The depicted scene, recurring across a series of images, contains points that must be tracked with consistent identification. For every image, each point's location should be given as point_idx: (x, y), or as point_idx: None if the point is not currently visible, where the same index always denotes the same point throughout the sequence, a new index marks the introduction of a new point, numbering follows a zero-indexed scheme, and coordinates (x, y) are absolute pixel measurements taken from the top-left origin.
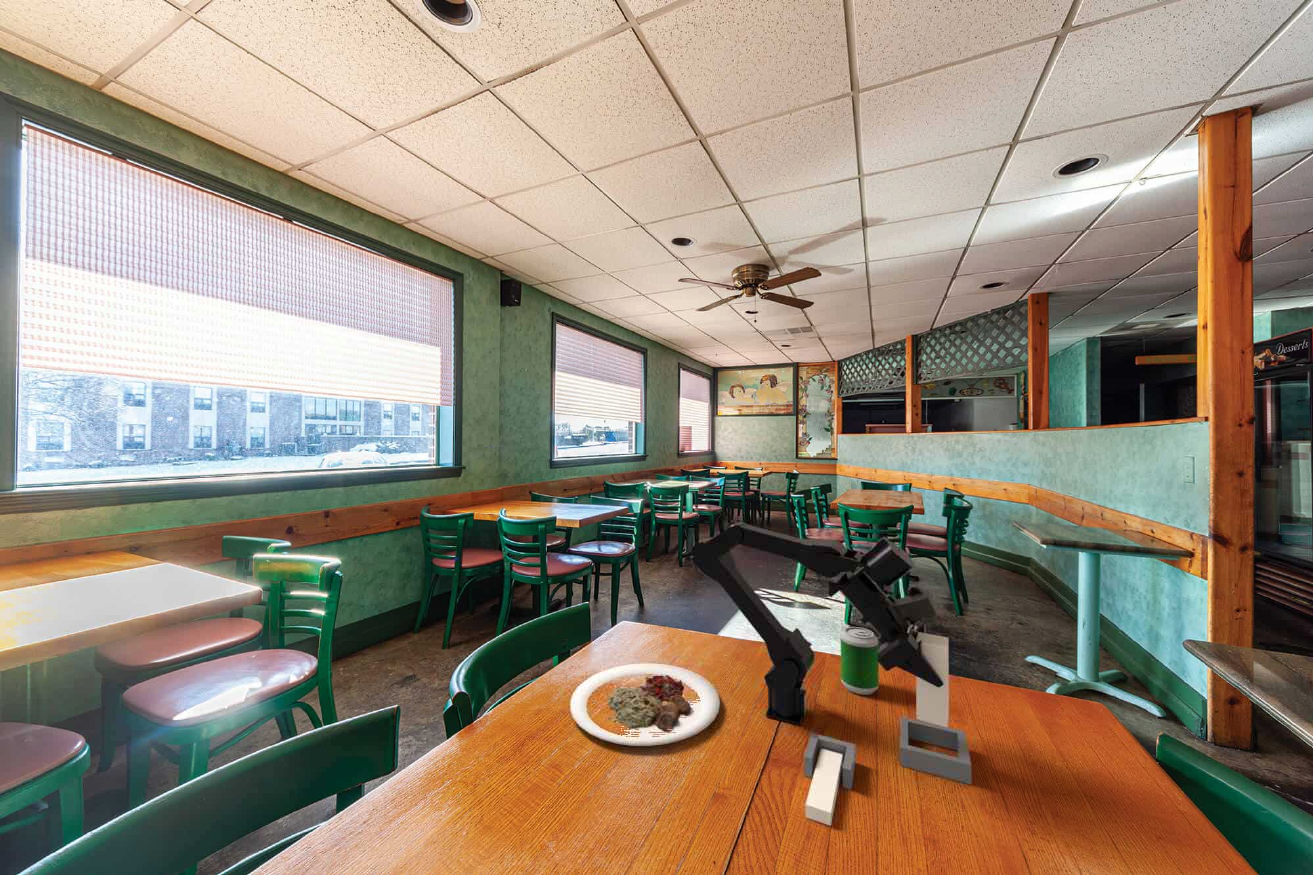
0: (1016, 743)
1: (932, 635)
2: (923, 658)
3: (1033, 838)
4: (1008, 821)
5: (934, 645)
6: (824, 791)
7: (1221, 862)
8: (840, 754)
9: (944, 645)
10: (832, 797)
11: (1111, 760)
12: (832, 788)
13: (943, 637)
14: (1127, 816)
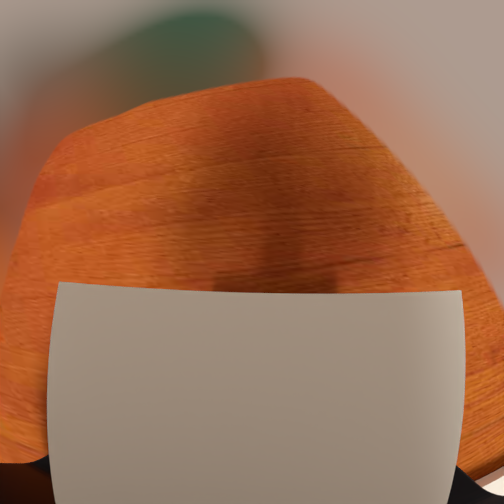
0: (147, 229)
1: (74, 474)
2: (467, 482)
3: (416, 231)
4: (402, 259)
5: (449, 458)
6: (493, 491)
7: (314, 82)
8: None
9: (420, 337)
10: (501, 478)
11: (150, 128)
12: (486, 488)
13: (69, 343)
14: (283, 125)
